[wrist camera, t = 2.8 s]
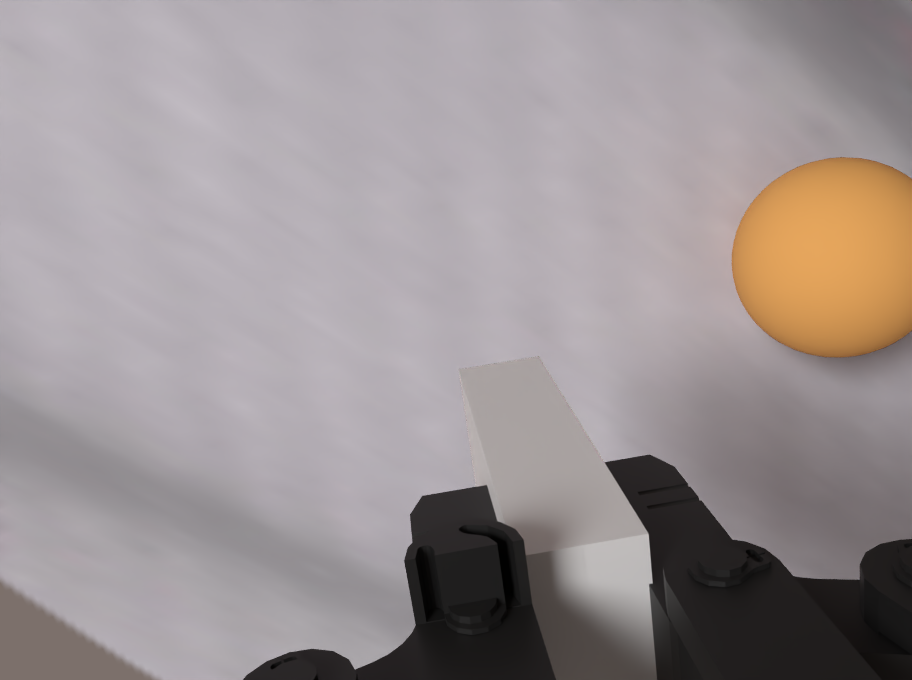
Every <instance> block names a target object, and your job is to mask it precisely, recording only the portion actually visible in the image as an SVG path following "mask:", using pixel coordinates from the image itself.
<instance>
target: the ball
mask: <svg viewBox="0 0 912 680" xmlns="http://www.w3.org/2000/svg"><path fill="white" fill-rule="evenodd" d="M732 271H733V278H734V282H735V286H736V290H737V293H738V295H739V298H740V300H741V302H742V304H743V306H744V307H745V309H746V311H747V312H748V314H749V315H750V317H751V318H752V319H753V320H754V321H755V323H756V324H757V325H758V326H759V327H760V328H761V329H763V330H764V331H765V332H766V333H767V334H768V335H769V336H771V337H772V338H774V339H775V340H777V341H778V342H780V343H782V344H784V345H786V346H788V347H790V348H792V349H794V350H797V351H800V352H803V353H807V354H811V355H816V356H822V357H851V356H858V355H863V354H867V353H870V352H873V351H876V350H879V349H882V348H885V347H887V346H889V345H891V344H893V343H895V342H896V341H898V340H899V339H901V338H903V337H904V336H906V335H907V334H908V333H909V332H911V331H912V179H911V178H910V177H908V176H907V175H905V174H903V173H902V172H900V171H898V170H896V169H894V168H893V167H890V166H888V165H885V164H882V163H879V162H876V161H872V160H867V159H862V158H845V157H840V158H828V159H824V160H819V161H815V162H810V163H807V164H805V165H802V166H799V167H797V168H795V169H793V170H791V171H789V172H787V173H785V174H784V175H782V176H781V177H779V178H778V179H776V180H775V181H773V182H772V183H771V184H769V185H768V186H767V187H766V188H765V189H764V190H763V191H762V192H761V193H760V194H759V195H758V196H757V197H756V198H755V199H754V201H753V202H752V203H751V205H750V206H749V208H748V209H747V211H746V212H745V214H744V216H743V218H742V220H741V222H740V224H739V227H738V229H737V232H736V236H735V239H734V244H733V250H732Z"/></svg>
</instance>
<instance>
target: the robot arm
mask: <svg viewBox="0 0 912 680" xmlns="http://www.w3.org/2000/svg"><path fill="white" fill-rule="evenodd" d="M459 376H460V383H461V390H462V396H463V403H464V410H465V417H466V423H467V430H468V437H469V444H470V451H471V457H472V464H473V471H474V478H475V484H476V487H472V488H466V489H461V490H455V491H449V492H443V493H437V494H431V495H426V496H422V497H421V499H420V500H419V502H418V503H417V505H416V506H415V508H414V510H413V511H412V513H411V514H410V519H411V531H412V542H413V543H412V544H411V545H410V546H409V547H408V549H407V553H406V556H405V560H404V562H405V567H406V573H407V579H408V584H409V590H410V595H411V601H412V606H413V612H414V617H415V623H416V626H415V628H414V630H413V632H412V634H411V635H410V636H409V637H408V638H407V639H406V641H405V642H404V643H403V644H402V645H401V646H399V647H398V648H397V649H395V650H394V651H393V652H391V653H390V654H388V655H386V656H384V657H382V658H380V659H378V660H376V661H375V662H372V663H370V664H368V665H365V666H363V667H360V668H358V669H356V670H355V669H354V668H353V666H352V664H351V662H350V661H349V659H347V658H345V657H343V656H341V655H339V654H337V653H336V652H334V651H327V650H318V649H309V650H302V651H296V652H289V653H287V654H284V655H282V656H279V657H277V658H274V659H272V660H269V661H267V662H265V663H264V664H262V665H261V666H259V667H258V668H256V669H255V670H254V671H252V672H251V673H249V674H248V675H247V676H246V677H245V678H244V679H243V680H912V539H906V540H898V541H893V542H888V543H883V544H880V545H878V546H876V547H874V548H873V549H871V550H869V551H867V552H866V553H865V555H864V557H863V559H862V561H861V563H860V580H839V579H812V578H800V577H794V576H793V575H792V574H791V573H790V572H789V571H788V570H787V568H786V567H785V566H784V565H783V564H782V563H781V561H780V560H779V559H778V558H776V557H775V556H774V555H772V554H771V553H770V552H768V551H767V550H766V549H764V548H761V547H759V546H756V545H753V544H751V543H748V542H745V541H737V540H732V539H731V537H730V536H729V535H728V534H727V532H726V531H725V530H724V528H723V527H722V526H721V525H720V523H719V522H718V521H717V520H716V518H715V517H714V516H713V515H712V513H711V512H710V511H709V510H708V508H707V507H706V506H705V505H704V503H703V502H702V501H699V498H698V496H697V495H696V493H695V492H694V491H693V490H692V488H691V487H688V483H687V482H686V481H685V479H684V478H683V477H682V476H681V474H680V473H679V472H678V471H677V469H676V468H675V467H674V466H672V465H670V464H668V463H666V462H664V461H662V460H660V459H658V458H655V457H653V456H651V455H645V456H639V457H633V458H627V459H621V460H616V461H610V462H604V461H603V459H602V458H601V456H600V454H599V453H598V451H597V450H596V448H595V446H594V445H593V443H592V442H591V440H590V438H589V437H588V435H587V433H586V432H585V430H584V429H583V427H582V425H581V424H580V422H579V421H578V419H577V417H576V416H575V414H574V412H573V411H572V409H571V408H570V406H569V404H568V403H567V401H566V400H565V398H564V396H563V395H562V393H561V391H560V390H559V388H558V387H557V385H556V383H555V382H554V380H553V378H552V377H551V375H550V374H549V372H548V370H547V369H546V367H545V366H544V364H543V362H542V361H541V359H540V357H539V356H537V357H531V358H525V359H519V360H513V361H507V362H501V363H495V364H488V365H482V366H476V367H470V368H464V369H459Z"/></svg>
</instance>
